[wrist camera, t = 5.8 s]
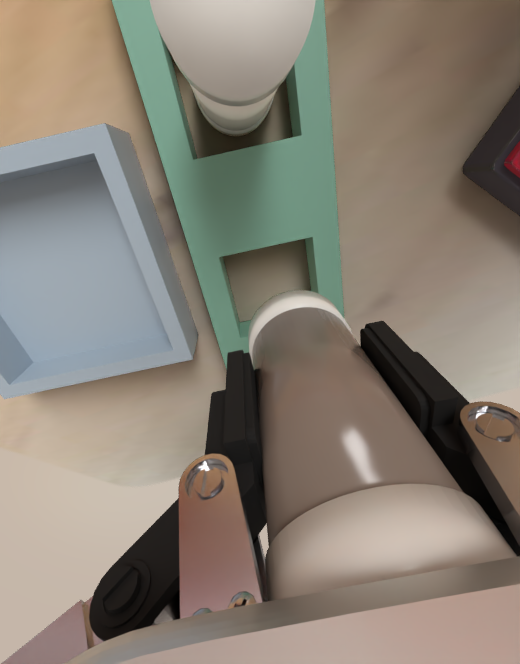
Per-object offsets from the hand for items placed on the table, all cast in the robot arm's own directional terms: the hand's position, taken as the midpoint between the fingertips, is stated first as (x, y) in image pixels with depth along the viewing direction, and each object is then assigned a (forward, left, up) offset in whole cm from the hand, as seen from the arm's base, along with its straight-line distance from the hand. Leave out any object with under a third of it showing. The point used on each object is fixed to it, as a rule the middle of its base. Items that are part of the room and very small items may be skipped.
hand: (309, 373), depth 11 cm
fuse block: (-5, 0, -12) cm, 13 cm away
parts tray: (-3, -13, -12) cm, 18 cm away
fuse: (-11, 0, -12) cm, 16 cm away
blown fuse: (0, 0, -3) cm, 3 cm away
